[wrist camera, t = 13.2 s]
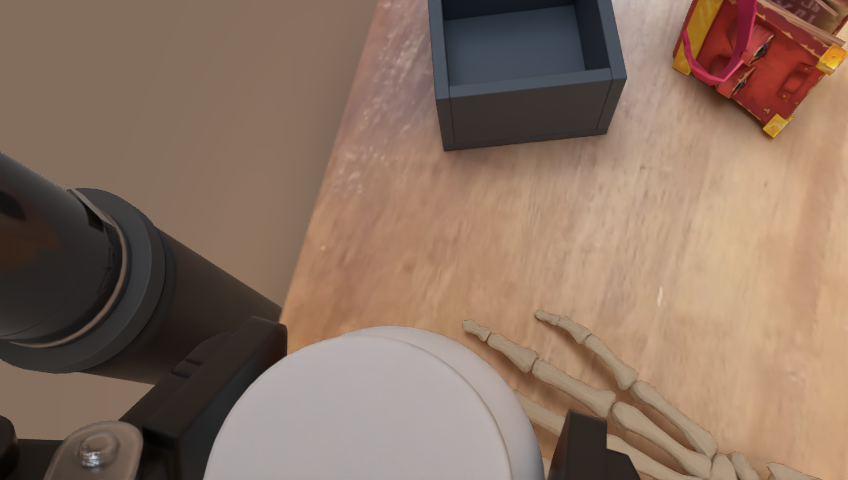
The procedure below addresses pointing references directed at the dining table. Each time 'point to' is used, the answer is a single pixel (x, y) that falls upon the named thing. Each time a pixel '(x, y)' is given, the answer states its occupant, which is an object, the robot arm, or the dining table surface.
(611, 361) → the anatomical model
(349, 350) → the pill bottle
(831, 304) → the dining table surface
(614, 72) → the bin
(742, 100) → the book monster
